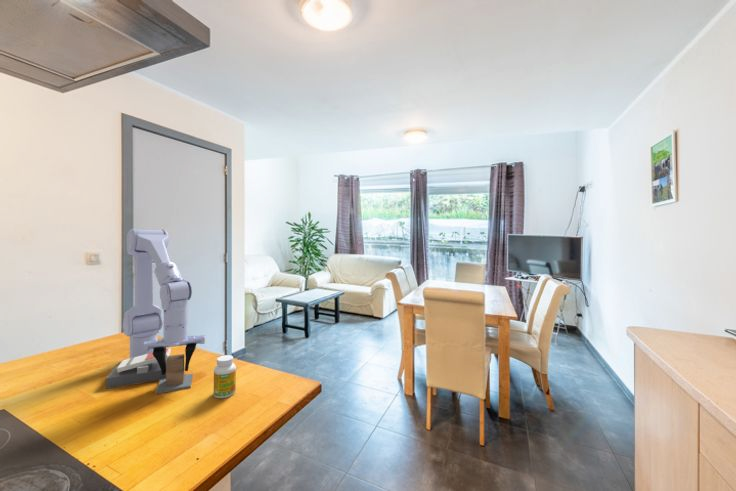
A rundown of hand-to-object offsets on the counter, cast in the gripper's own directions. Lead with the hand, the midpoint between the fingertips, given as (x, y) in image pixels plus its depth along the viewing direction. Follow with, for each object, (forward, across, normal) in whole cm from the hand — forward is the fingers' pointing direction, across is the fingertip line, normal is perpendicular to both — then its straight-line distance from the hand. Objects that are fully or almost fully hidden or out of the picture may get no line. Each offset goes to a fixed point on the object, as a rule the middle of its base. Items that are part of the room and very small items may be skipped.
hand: (175, 371), depth 85 cm
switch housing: (+4, -8, +9) cm, 13 cm away
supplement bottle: (+4, +12, -11) cm, 17 cm away
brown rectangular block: (+3, 0, 0) cm, 3 cm away
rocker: (-1, -8, +9) cm, 12 cm away
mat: (+4, 0, 0) cm, 4 cm away
